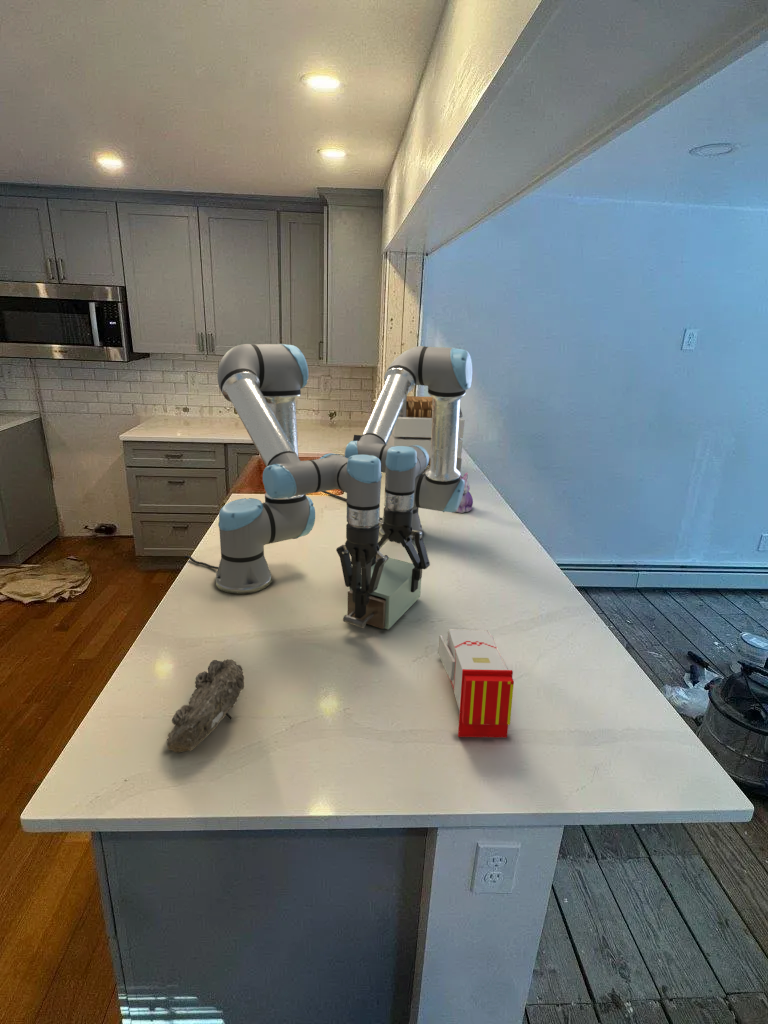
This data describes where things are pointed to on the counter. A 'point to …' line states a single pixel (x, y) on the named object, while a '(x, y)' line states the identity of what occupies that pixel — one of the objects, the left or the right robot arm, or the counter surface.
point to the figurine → (465, 497)
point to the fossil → (206, 705)
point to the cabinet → (396, 589)
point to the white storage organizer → (420, 426)
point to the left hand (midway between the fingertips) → (360, 615)
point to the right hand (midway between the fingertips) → (393, 584)
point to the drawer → (367, 612)
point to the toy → (478, 682)
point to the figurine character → (357, 437)
